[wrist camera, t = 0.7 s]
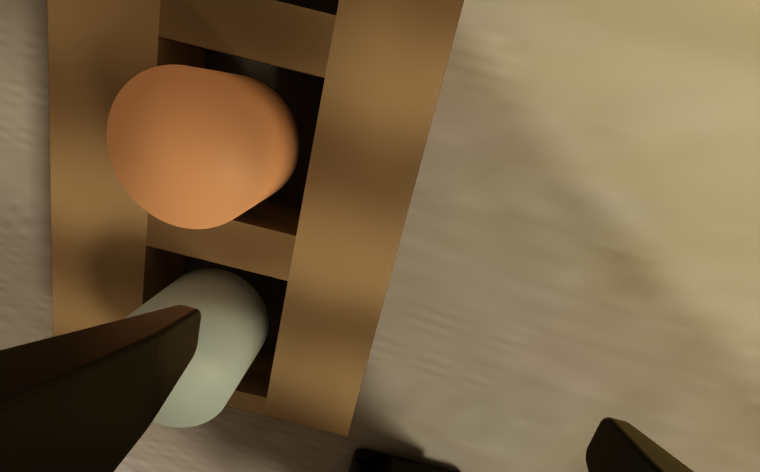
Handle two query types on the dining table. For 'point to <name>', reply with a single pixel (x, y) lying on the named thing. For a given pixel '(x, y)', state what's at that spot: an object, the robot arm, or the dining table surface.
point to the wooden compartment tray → (265, 220)
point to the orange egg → (200, 143)
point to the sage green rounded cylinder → (212, 342)
